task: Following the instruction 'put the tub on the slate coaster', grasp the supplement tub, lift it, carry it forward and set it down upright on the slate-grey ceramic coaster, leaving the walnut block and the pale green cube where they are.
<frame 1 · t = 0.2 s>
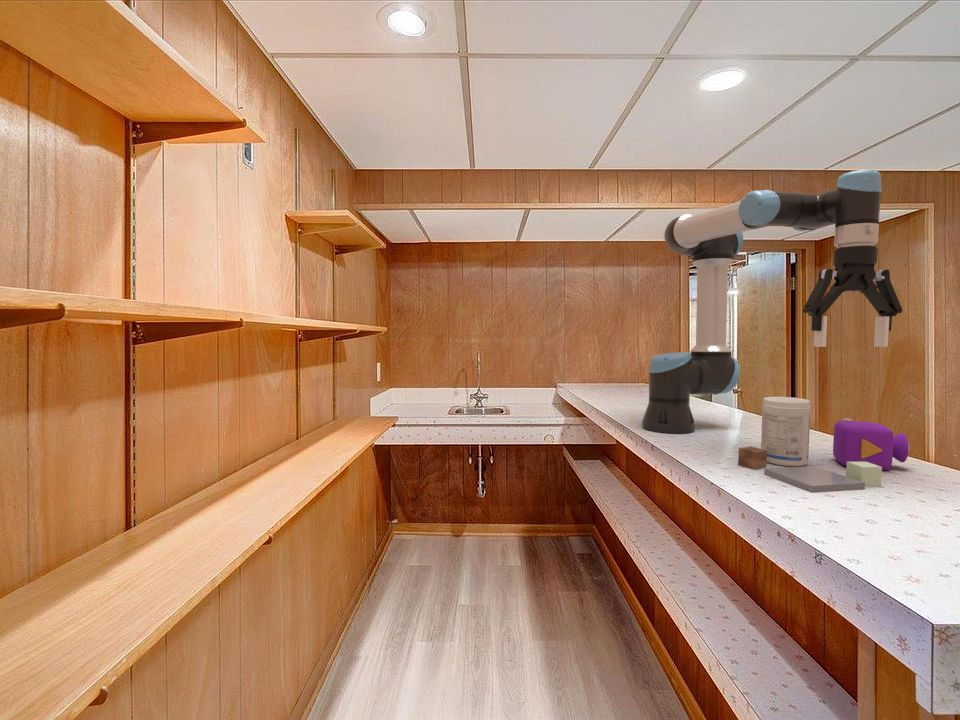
hand: (850, 346, 109), 27 cm above the countertop, fingers open, 13 cm apart
slate coaster: (812, 481, 102), on the countertop
walnut block: (752, 466, 113), on the countertop
supplement tub: (783, 462, 117), on the countertop
pale green cube: (863, 483, 101), on the countertop
toy camera: (869, 466, 115), on the countertop
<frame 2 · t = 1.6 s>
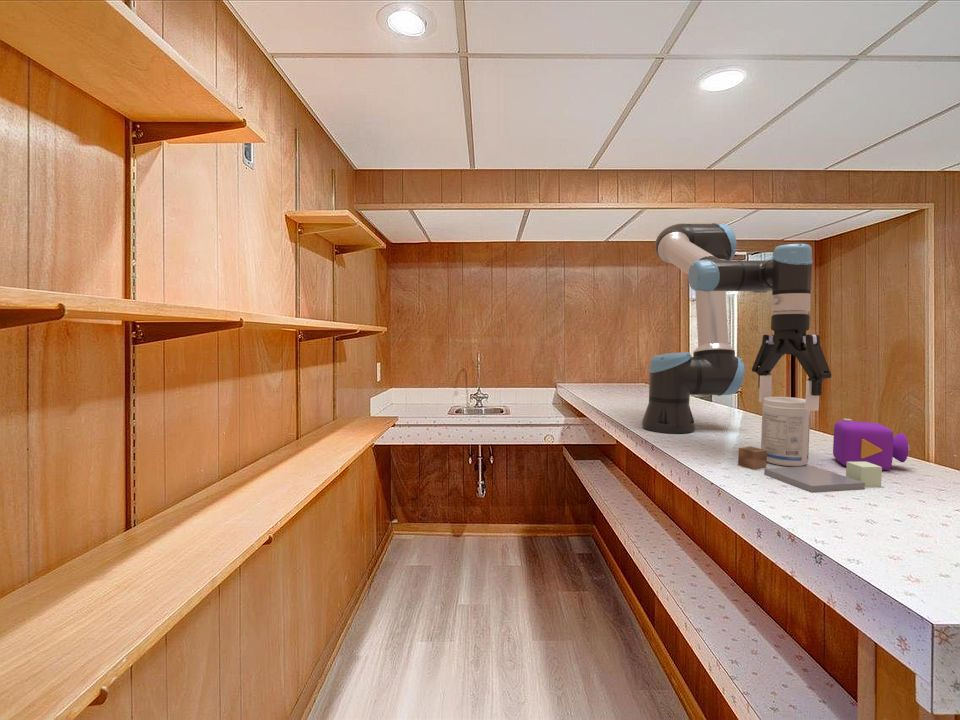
hand: (787, 406, 116), 13 cm above the countertop, fingers open, 13 cm apart
nothing on the countertop moved.
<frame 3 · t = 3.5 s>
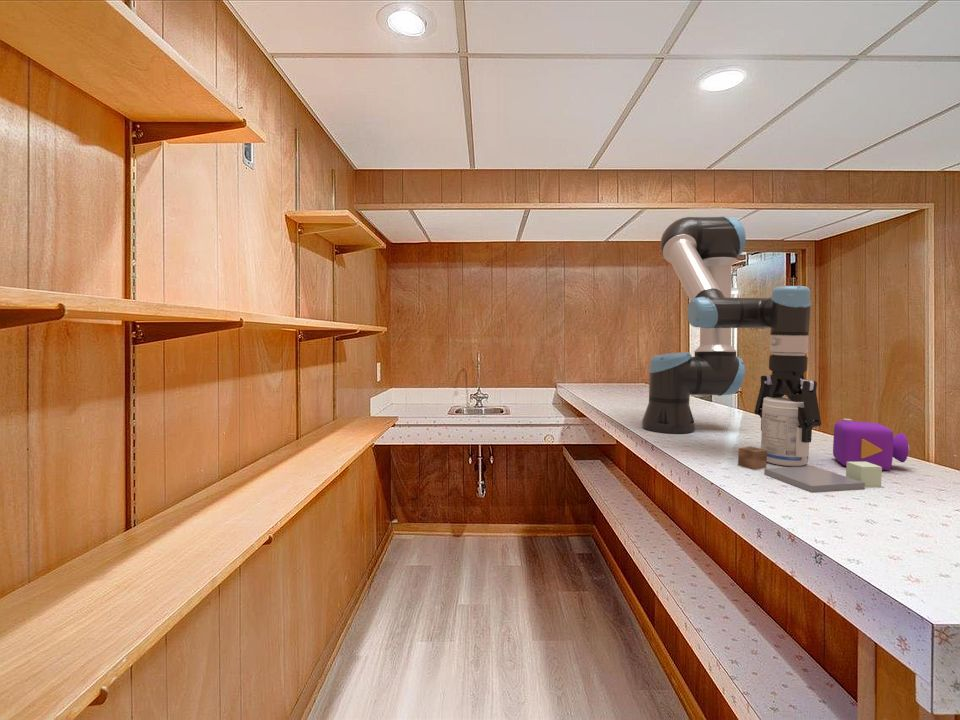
hand: (784, 450, 117), 3 cm above the countertop, fingers closed on supplement tub, 9 cm apart
supplement tub: (783, 462, 117), on the countertop, touching gripper
everything else where it was.
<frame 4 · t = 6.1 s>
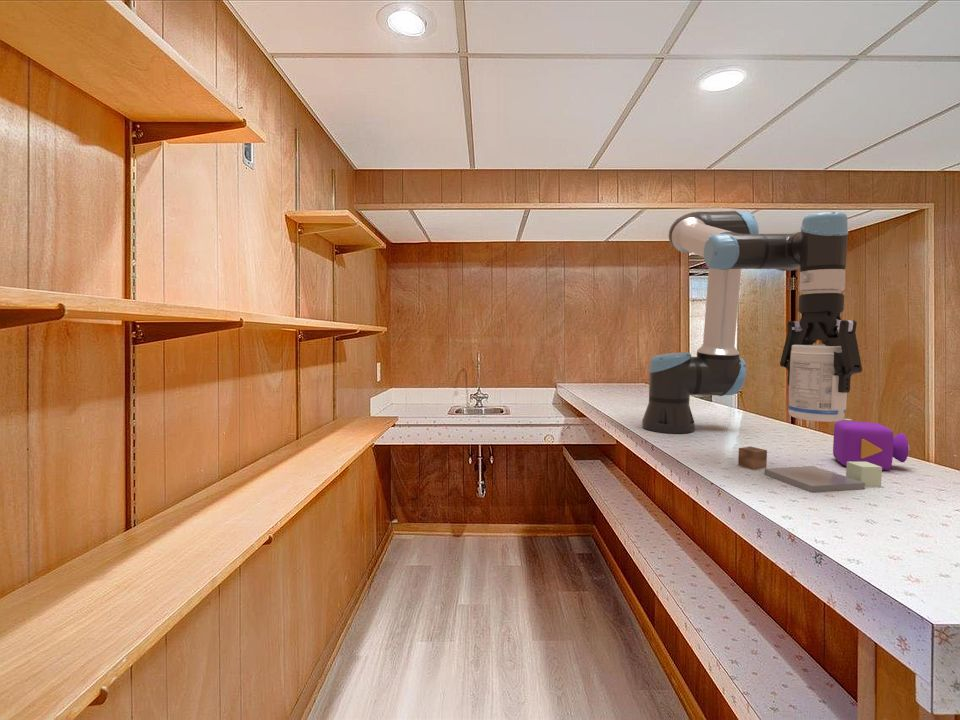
hand: (815, 405, 101), 15 cm above the countertop, fingers closed on supplement tub, 9 cm apart
supplement tub: (815, 419, 101), point 13 cm above the countertop, touching gripper
everything else where it was.
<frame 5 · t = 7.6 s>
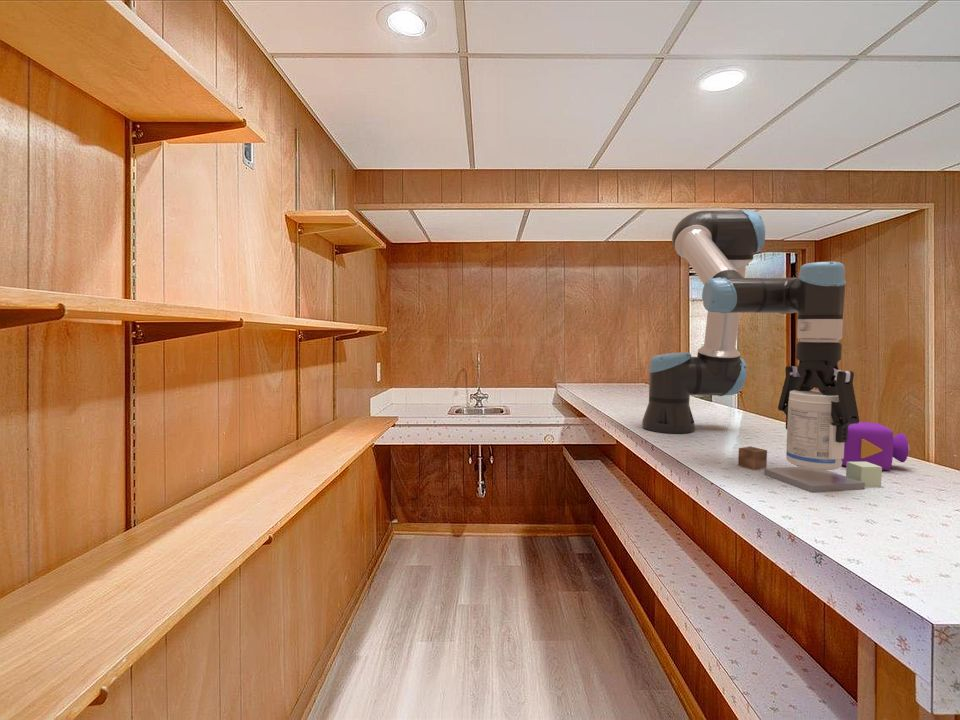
hand: (813, 452, 102), 6 cm above the countertop, fingers closed on supplement tub, 9 cm apart
supplement tub: (813, 465, 102), point 3 cm above the countertop, touching gripper
everything else where it was.
when the fingers open (5 cm above the countertop, at t = 8.7 s): supplement tub drops 1 cm, point 1 cm above the countertop.
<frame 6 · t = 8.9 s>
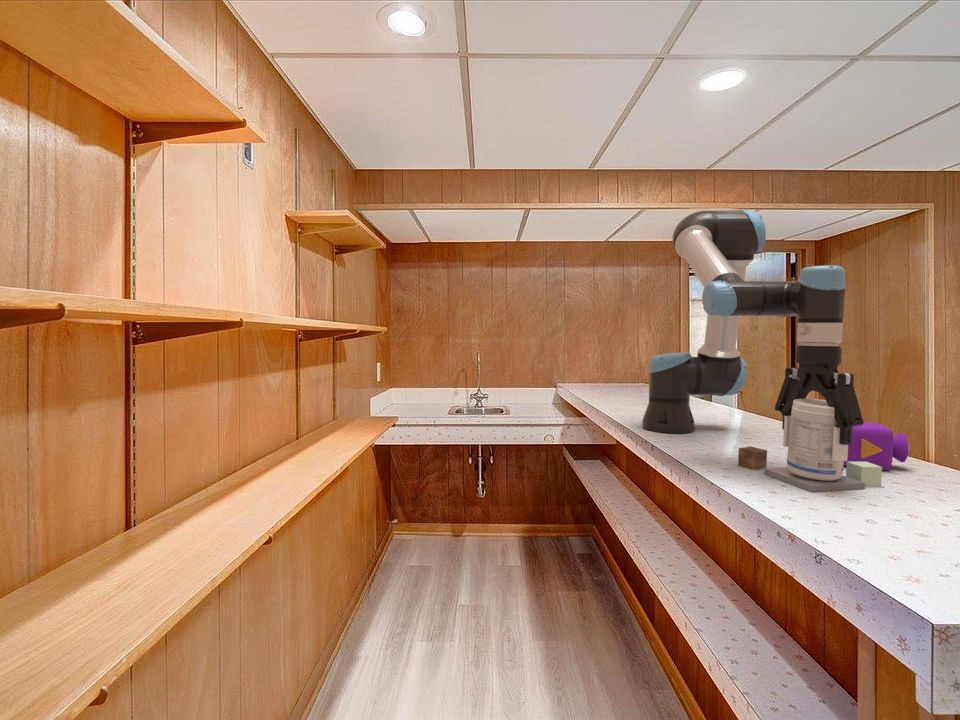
hand: (813, 453, 102), 6 cm above the countertop, fingers open, 11 cm apart
supplement tub: (813, 475, 102), point 1 cm above the countertop, touching gripper
everything else where it was.
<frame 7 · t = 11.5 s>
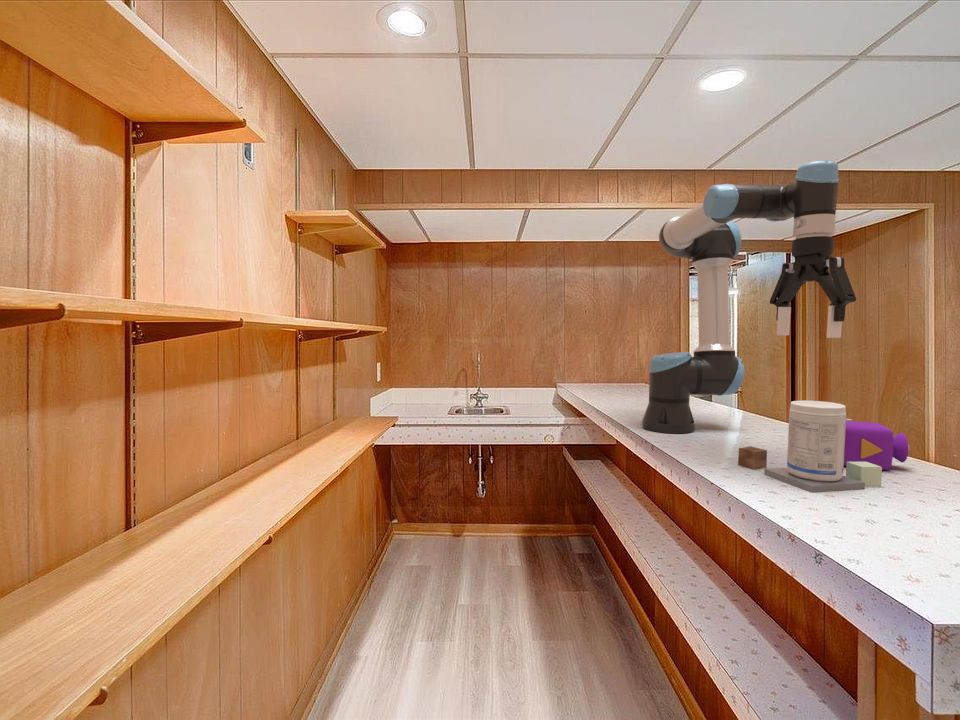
hand: (806, 336, 110), 29 cm above the countertop, fingers open, 13 cm apart
supplement tub: (813, 476, 102), point 1 cm above the countertop, touching slate coaster
everything else where it was.
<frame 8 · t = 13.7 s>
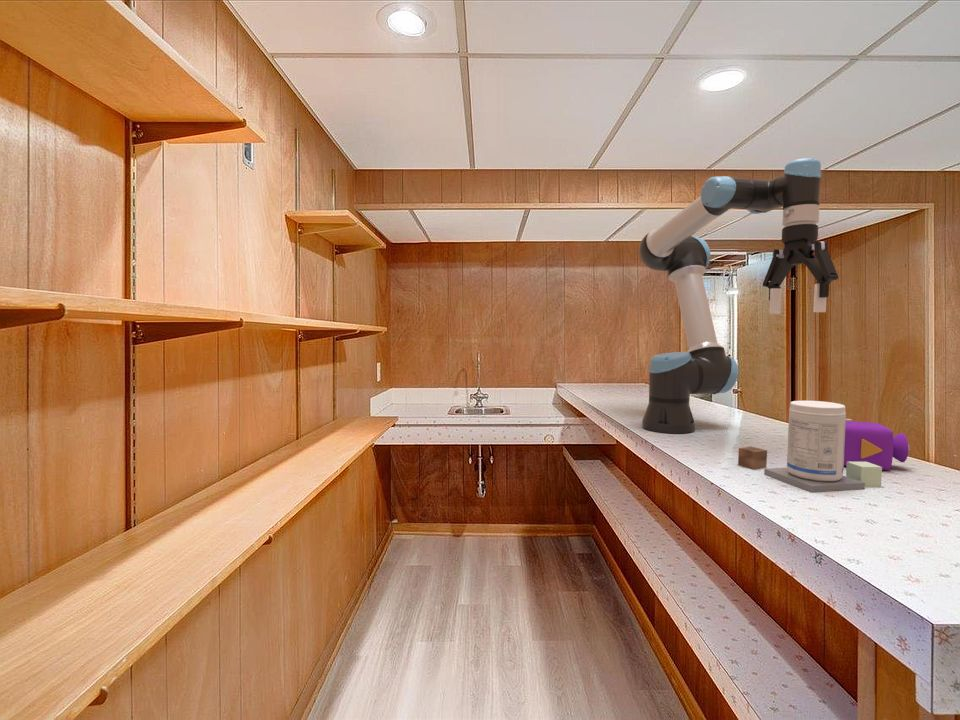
hand: (796, 313, 125), 35 cm above the countertop, fingers open, 13 cm apart
nothing on the countertop moved.
at the end: supplement tub inside the target area on the slate coaster (0.4 cm from its centre), point 1.0 cm above the slate coaster's base; supplement tub tilted 0°; walnut block moved 0.1 cm from its start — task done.
